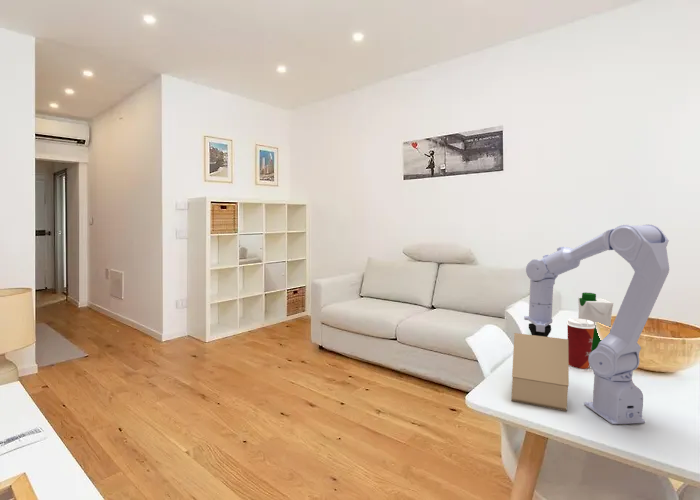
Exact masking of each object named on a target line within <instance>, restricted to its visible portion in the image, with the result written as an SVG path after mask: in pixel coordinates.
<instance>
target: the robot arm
mask: <svg viewBox="0 0 700 500" xmlns="http://www.w3.org/2000/svg"><path fill="white" fill-rule="evenodd" d="M669 241H670V240H669V239H668V237H667V236H666V235H665V233H664V232H663V231H662V229H660V227H659V226H656V225H653V224H640V225H639V224H638V225H629V224H621V225H619V226H616V227H615V228H611V229H608V230H606V231H604V232H602V233H600V234H599V235H597V236H595V237H593V238H591V239H589V240H587V241H585V242H584V243H582V244H580V245H578V246H576V247H575V248H572V247H568V246H559V247H557V248H556V251H554V252H553V253H550V254H544V255H543V256H542V258H541V259H538V258H537V259H531V260H530V261H529V262H528V263H527V265H526V267H525V272H526V273H525V274H526V275H527V277H528V279H529V280H530V282H529V283H530V284H529V302H528V303H529V304H528V305H529V306H528V315H524V317H523V320H525V321H528V322H530V323H528V330H529V332H530V335H535V336H544V337H549V335H550V333H551V332H552V325H551V324H552V323H553V319H552V318H553V301H554V300H553V296H554V285H555V283H556V279H557V278H558V276H560V275H562V274H564V273H567V272H569V271H572V270H574V269H576V268H578V267H579V266H580V264H581V262H582V260H585V259H588V258H590V257H593V256H597V255H598V254H601V253H605V252H606V251H614V252H615V253H617V254H618V255H619V256H620V257H621V258H622V259H624V260H625V261H626V262H627V263H628V264H629V265H630V266H631V268H632V270H633V271H634V273H633V275H632V278H631V281H630V283H629V285H628V288H627V290H626V292H625V295H624V297H623V300H622V301H621V304H620V307H619V309H618V312H617V314H616V316H615V319H614V320H613V323H612V324H611V329H610V333H609V334H608V335H607V336H606V337H605V338H604V339H603V340H601V341H600V342H599V344H598V347H597V348H596V349H595V350H593V351H592V352H591V353H590V354H589V358H588V361H589V368H590V369H591V370H592V371H593V375H594V377H593V378H594V379H593V390H592V392H593V395H592V401H585V402H583V405H584V406H586V407H587V408H588V409H590V410H591V411H593V412H594V413H595V414H597V415H598V416H600V417H601V418H603V419H604V420H606V421H607V422H608V423H610V424H612V425H621V424H622V425H624V424H625V425H626V424H644V423H646V420H645V419H643V406H644V405H643V404H644V394H643V391H642V390H641V389H640V387H638V386H636V385H635V383H634V381H633V374H634V373H633V372H634V371H635V370H636V369H638V367H639V366H640V351H641V350H642V347H641V345H640V344H639V343H638V342H639V339H640V336H641V335H642V332H643V330H644V327H645V326H646V323H647V322H648V320H649V317H650V314H651V312H652V310H653V308H654V306H655V304H656V302H657V299H658V297H659V294H660V293H661V291H662V288H663V286H664V284H665V282H666V280H667V277H668V275H669V272H670V265H669V263H670V262H669V258H668V250H667V246H668V244H669Z"/></svg>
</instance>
